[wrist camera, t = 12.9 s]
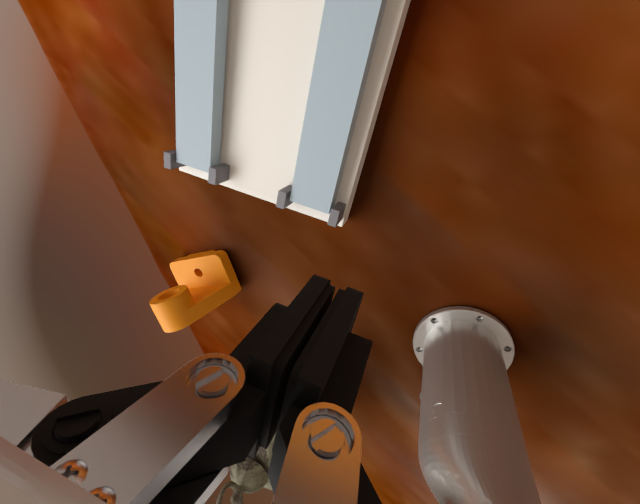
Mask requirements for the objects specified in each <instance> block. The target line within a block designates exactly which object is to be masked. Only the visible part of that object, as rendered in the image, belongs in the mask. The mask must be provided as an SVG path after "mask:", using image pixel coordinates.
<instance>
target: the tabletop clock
mask: <svg viewBox="0 0 640 504" xmlns="http://www.w3.org/2000/svg"><path fill="white" fill-rule="evenodd" d="M275 435H276V433H275ZM275 435H274V437H273V439H272V440H271V442H270V444H269V446H268V448H267V449H264V448H262V447H260V448H259V450H258V452H257V453H256V455H255V457H254V458H252V457H250V456H247V458H246V460H245V461H243V462H240V463H237V464H234V465H232V467H231V468H230V470H231V476H230V477H231V481H230V482H228V483H226V484H225V485H224V486H223V488H222V489H221V491H220V493H219V496H218V498H217V501H216V504H221V501H222V498H223V494H224V492H225V490H226V489H227V488H228V487H231V488H232V489H233V490H234V493H233V495H232V497H231V503H232V504H243V496H242V494H243V492H245V493H248V494H250V493H253V492H256V491H259V490H260V489H262V488H267V489H270V490H272V486H271V483H270V479H269V476H268V471H269V467H270V462H271V458H272V454H273V453H272V447H273V443H274V439H275Z"/></svg>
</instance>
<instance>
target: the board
mask: <svg viewBox="0 0 640 504" xmlns="http://www.w3.org/2000/svg"><path fill="white" fill-rule="evenodd" d="M410 1H411V0H387V2H386V6H385V10H384V14H383V18H382V22H381V26H380V30H379V34H378V37H377V41H376V45H375V49H374V53H373V57H372V61H371V65H370V69H369V73H368V77H367V80H366V84H365V88H364V92H363V96H362V100H361V104H360V108H359V112H358V116H357V119H356V123H355V127H354V131H353V135H352V139H351V143H350V147H349V151H348V155H347V159H346V162H345V166H344V170H343V174H342V178H341V182H340V186H339V190H338V194H337V198H336V202H335V205H334V206H333V207H332V208H331V212H330V213H329V214H326V213H323V212H321V211H318V210H315V209H312V208H309V207H306V206H303V205H300V204H297V203H294V202H291V201H290V195H291V190H292V184H293V178H294V173H295V167H296V161H297V156H298V150H299V145H300V139H301V133H302V128H303V122H304V116H305V111H306V105H307V99H308V94H309V88H310V83H311V77H312V71H313V66H314V60H315V54H316V49H317V43H318V37H319V32H320V26H321V21H322V15H323V9H324V4H325V0H229V3H228V22H227V40H226V59H225V77H224V95H223V114H222V132H221V151H220V164H218V165H214V166H211V167H209V173H207V172H204V171H201V170H198V169H195V168H193V167H190V166H187V165H184V164H181V163H178V162H176V150H170V151H164V167H165V168H168V169H170V170H171V169H175V168H179V170H180V171H183V172H186V173H189V174H192V175H194V176H197V177H200V178H203V179H206V180H208V183H210V184H213V185H217V184H220V185H223V186H226V187H229V188H232V189H235V190H237V191H240V192H243V193H246V194H249V195H252V196H255V197H257V198H260V199H263V200H266V201H269V202H272V203H275V204H276V207H279V208H282V209H284V208H289V209H292V210H295V211H298V212H300V213H303V214H306V215H309V216H312V217H315V218H318V219H321V220H323V221H326V222H328V224H327V225H330V226H333V227H336V226H337V225H338V226H341V227H342V226H343V225H344V223H345V222H346V221H347V219H348V216H349V213H350V209H351V206H352V203H353V199H354V196H355V192H356V189H357V185H358V182H359V178H360V175H361V171H362V168H363V164H364V161H365V157H366V154H367V151H368V147H369V144H370V140H371V137H372V133H373V130H374V126H375V123H376V119H377V116H378V112H379V109H380V105H381V102H382V99H383V95H384V92H385V88H386V85H387V81H388V78H389V74H390V71H391V67H392V64H393V60H394V57H395V53H396V50H397V47H398V43H399V40H400V36H401V33H402V29H403V26H404V22H405V19H406V15H407V12H408V8H409V5H410Z"/></svg>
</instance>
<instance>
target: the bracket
mask: <svg viewBox="0 0 640 504" xmlns="http://www.w3.org/2000/svg"><path fill="white" fill-rule="evenodd" d="M170 268H171V270H172V272H173V274H174V276H175V279H176V281H177V283H178V285H179V286H175V287H172V288H170V289H167V290H165V291H163V292H161V293H160V294H158V295H156V296H155V297H153V298H152V299H151V300H150V302H149V304H150V306H151V308H152V310H153V311H154V313H155V315H156V317H157V319H158V321H159V323H160V325H161V326H162V328H163V330H164V332H166V333H170V332H175V331H178V330H181V329H183V328H185V327H187V326H189V325H190V324H192V323H193V322H195V321H196V320H198V319H200V318H201V317H203V316H204V315H206V314H207V313H209V312H210V311H212V310H213V309H215V308H216V307H218V306H220V305H221V304H223V303H224V302H226V301H227V300H229V299H230V298H232V297H233V296H235V295H236V294H237V293H238V292H239V291H241V290H242V288H241V286H240V283H239V281H238V279H237V276H236V274H235V272H234V269H233V267H232V264H231V262H230V260H229V257H228V255H227V253H226V252H225V251H223V250H218V251H216V250H211V251H205V252H200V253H195V254H190V255H188V256H186V257H180V258H178V259H177V260H175V261H173V262H172V263H170Z"/></svg>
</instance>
